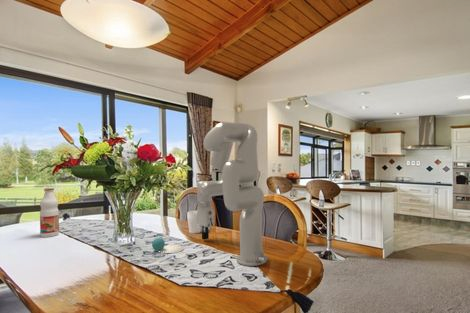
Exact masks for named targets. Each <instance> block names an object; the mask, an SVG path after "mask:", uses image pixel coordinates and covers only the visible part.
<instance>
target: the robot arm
mask: <svg viewBox="0 0 470 313" xmlns="http://www.w3.org/2000/svg"><path fill="white" fill-rule="evenodd" d="M234 143H239V144H238V146H237V150H236V155H237V156H236V157H237V158H236V160H230V161H229V159H230V157H231V154H232V149H233V147H234ZM257 145H258V132H257V130H256V127H254V126H253V125H251V124H248V123H244V122H243V123H242V122H227V121H222V122H219V123H217V124H216V125H215V126H214V127H213V128H211V129H210V130H209V131H208V132H207V134H206V135H205V137H204V138H203V147H204V150H205V151H207V152H211V153H212V154H211V156H210V161H209V162H210V166H212V167H213V168H215V169H217V170H219V171H221V178H220V180H212V181H209V180H200V181H198V182H197V183H196V190H197V191H196V192H197V193H196V195H197V196H196V197H197V198H196V199H197V203H196V204H197V210H196V211H197V223H198V224H199V226H200V227H201V239H202V240H204V241H205V240H209V234H210V233H209V232H210V230H212V228H213V226H214V225H215V215H214V209H213V204H212V203H213V201H212V200H213V198H212V197H215V196H216V197H217V196H223V202H224V206H225V208H226V210H228V211H231V212H238V211H241V212H240V216H239V222H238V223H239V255H238V256H237V257H236V262H237V263H238V264H240V265H241V266H246V267H247V266H249V267H253V266H255V267H256V266H261V265H264V264H265V263H267V261H268V260H269V256H268V255H265V251H264V250H263V206H264V201H265V194H264V192H263V190H262V189H261V188H260V187H259V186H256V185H244V186H240V184H248V183H253V182H255V181H256V180H258V178H259V164H258V151H257V149H258V148H257Z"/></svg>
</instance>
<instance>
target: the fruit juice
mask: <svg viewBox="0 0 470 313" xmlns="http://www.w3.org/2000/svg"><path fill="white" fill-rule="evenodd" d="M43 189H44V190H43V191H44V195H43V197H42V199H41V200H40V202H39V205H40V211H39V224H40V225H39V228H40V229H39V233H40V235H39V236H40V237H41V238H51V237H56V236H58V235H59V234H60V213H59V212H60V210H59V208H58V207H59V200H58V199H57V198H56V196H55V193H54V191H55V188H54V187H46V188H45V187H44V188H43Z"/></svg>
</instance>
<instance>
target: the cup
mask: <svg viewBox="0 0 470 313" xmlns="http://www.w3.org/2000/svg"><path fill="white" fill-rule="evenodd" d="M186 214H187V215H186V216H187V217H186V218H187V223H188V230H189V231H188V232H189V234H200V233H202V231H201V227H200V226H199V224H198V223H197V210H188V211H187V213H186Z"/></svg>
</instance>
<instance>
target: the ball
mask: <svg viewBox="0 0 470 313" xmlns="http://www.w3.org/2000/svg"><path fill="white" fill-rule="evenodd" d="M164 246H166V242H165V240H164V238H162V237H157V238H154V239H153V240H152V242H151V247H152V249H153V250H154V251H156V252H157V251H160V250H162V249H163V248H164Z"/></svg>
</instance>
